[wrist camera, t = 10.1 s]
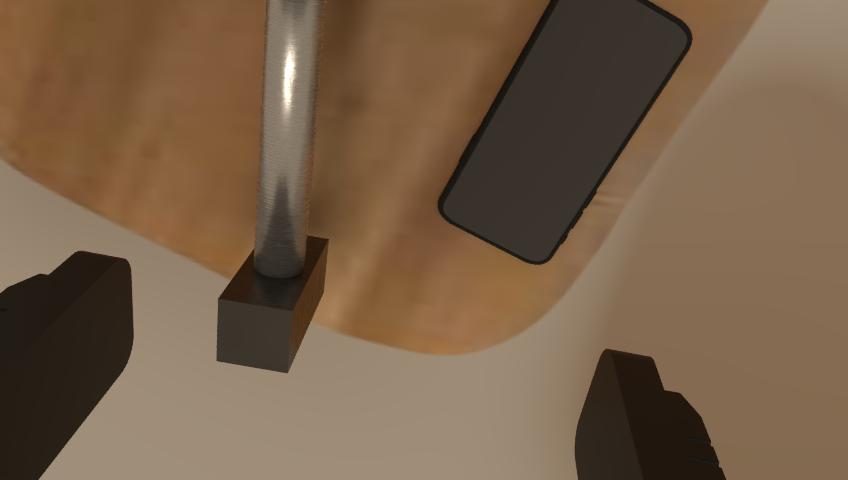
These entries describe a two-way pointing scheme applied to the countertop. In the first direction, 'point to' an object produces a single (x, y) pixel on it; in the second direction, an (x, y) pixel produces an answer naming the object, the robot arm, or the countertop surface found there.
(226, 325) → the shaft
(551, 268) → the countertop surface
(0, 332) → the robot arm
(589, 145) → the smartphone
